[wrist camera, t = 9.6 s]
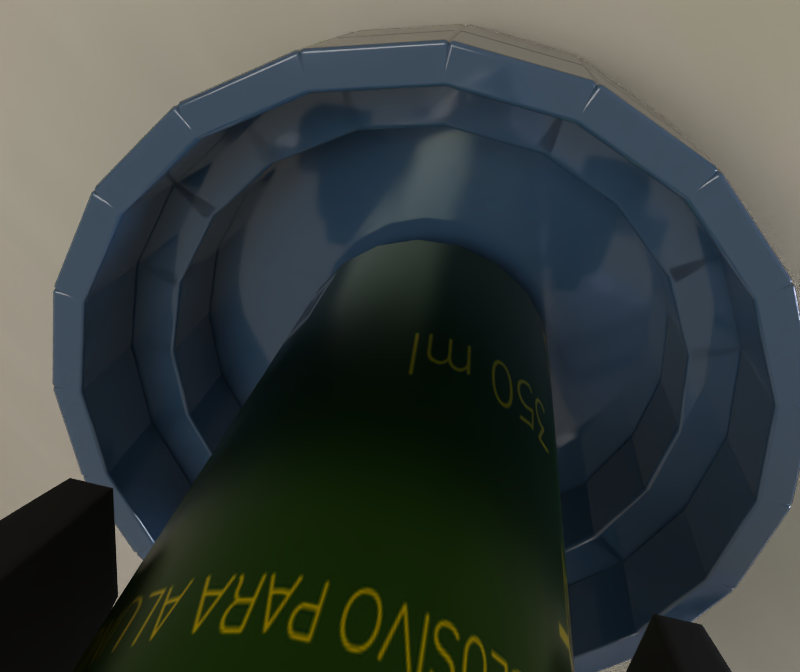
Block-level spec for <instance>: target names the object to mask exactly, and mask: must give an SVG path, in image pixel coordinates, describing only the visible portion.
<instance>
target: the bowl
mask: <svg viewBox="0 0 800 672" xmlns="http://www.w3.org/2000/svg"><path fill="white" fill-rule="evenodd" d="M412 240H424V241H430V242H437V243H444V244H450V245H457V246H461V247H463V248H465V249H467V250H469V251H471V252H473V253H475V254H477V255H480V256H482V257H484V258H486V259H488V260H490V261H492V262H494V263H496V264H498V265H499V266H500V267H501V268H502V269H503V270H504V271H505V272H506V273H507V274H508V275H509V276H511V277H512V278H513V279H514V280H515V281H516V282H517V283H518V284H519V285H520V286H521V287H522V288H523V289H524V290H525V291H526V292H527V293H528V295H529V297H530V299H531V301H532V303H533V305H534V307H535V308H536V310H537V312H538V314H539V316H540V318H541V320H542V322H543V324H544V325H545V333H546V340H547V347H548V355H549V363H550V375H551V387H552V399H553V412H554V424H555V436H556V448H557V461H558V473H559V485H560V497H561V510H562V522H563V534H564V546H565V559H566V571H567V583H568V596H569V608H570V620H571V632H572V645H573V657H574V669H575V672H598V671H601V670H603V669H606V668H609V667H611V666H614V665H616V664H619V663H622V662H624V661H627V660H629V659H632V658H633V656H634V654H635V652H636V650H637V648H638V646H639V643H640V641H641V639H642V637H643V635H644V633H645V631H646V629H647V626H648V624H649V622H650V620H651V618H652V616H653V614H658V615H662V616H666V617H671V618H675V619H679V620H683V621H688V622H692V621H694V620H695V619H696V618H698V617H699V616H700V615H702V614H703V613H704V612H706V611H707V610H708V609H710V608H711V607H712V606H714V605H715V604H716V603H718V602H719V601H720V600H722V599H723V598H724V597H726V596H727V595H728V594H730V593H731V592H732V590H733V589H735V588H736V587H737V586H738V584H739V583H740V581H741V580H742V578H743V577H744V575H745V574H746V572H747V571H748V570H749V568H750V567H751V565H752V564H753V562H754V561H755V559H756V558H757V556H758V555H759V553H760V552H761V551H762V549H763V548H764V546H765V545H766V543H767V542H768V540H769V539H770V537H771V536H772V534H773V533H774V532H775V530H776V529H777V527H778V526H779V524H780V523H781V521H782V520H783V518H784V517H785V515H786V514H787V513H788V511H789V510H790V505H791V504H792V502H793V498H794V493H795V489H796V484H797V480H798V476H799V471H800V311H799V305H798V300H797V295H796V289H795V286H794V284H793V283H792V279H791V277H790V275H789V274H788V272H787V270H786V269H785V267H784V266H783V264H782V263H781V261H780V260H779V258H778V257H777V255H776V254H775V252H774V251H773V249H772V248H771V246H770V244H769V243H768V241H767V240H766V238H765V237H764V235H763V234H762V232H761V231H760V229H759V228H758V226H757V225H756V223H755V222H754V220H753V218H752V217H751V215H750V214H749V212H748V211H747V209H746V208H745V206H744V205H743V203H742V202H741V200H740V199H739V197H738V196H737V194H736V192H735V191H734V189H733V188H732V186H731V185H730V183H729V182H728V180H727V179H726V177H725V176H724V174H723V173H722V172H721V171H720V170H719V169H718V168H717V167H716V165H715V164H713V163H712V162H711V161H710V160H709V159H708V158H707V157H706V156H705V155H704V154H703V153H702V152H701V151H700V150H699V149H698V148H696V147H695V146H694V145H693V144H692V143H691V142H690V141H689V140H688V139H687V138H685V137H684V136H683V135H682V134H681V133H680V132H679V131H678V130H677V129H676V128H675V127H674V126H673V125H672V124H671V123H670V122H669V121H667V120H666V119H665V118H664V117H663V116H661V115H660V114H659V113H657V112H656V111H654V110H653V109H652V108H650V107H649V106H648V105H646V104H645V103H643V102H642V101H641V100H639V99H638V98H636V97H635V96H634V95H632V94H631V93H630V92H628V91H627V90H625V89H624V88H623V87H621V86H620V85H618V84H617V83H616V82H614V81H613V80H611V79H610V78H609V77H607V76H606V75H605V74H603V73H602V72H600V71H599V70H598V69H596V68H595V67H593V66H592V65H591V64H589V63H588V62H587V61H585V60H584V59H582V58H577V56H576V55H575V54H572V53H569V52H565V51H562V50H558V49H555V48H551V47H548V46H544V45H540V44H537V43H533V42H530V41H526V40H523V39H519V38H516V37H512V36H509V35H505V34H502V33H498V32H495V31H491V30H488V29H484V28H481V27H477V26H474V25H467V26H465V25H463V24H454V25H439V26H424V27H409V28H394V29H379V30H364V31H357V32H351V33H348V34H345V35H342V36H338V37H335V38H332V39H329V40H327V41H323V42H320V43H317V44H314V45H310V46H307V47H304V48H301V49H298V50H295V51H292V52H290V53H288V54H286V55H283V56H281V57H279V58H277V59H275V60H272V61H270V62H268V63H266V64H263V65H261V66H259V67H257V68H254V69H252V70H250V71H248V72H245V73H243V74H241V75H239V76H236V77H234V78H232V79H230V80H227V81H225V82H223V83H221V84H218V85H216V86H214V87H212V88H210V89H207V90H205V91H203V92H201V93H198V94H196V95H194V96H192V97H189V98H187V99H185V100H183V101H180V103H179V104H178V105H176V106H173V107H172V108H171V109H170V110H169V111H168V112H167V113H166V114H165V115H164V116H163V117H162V118H161V119H160V121H159V122H158V123H157V124H156V125H155V126H154V127H153V128H152V129H151V130H150V131H149V132H148V133H147V134H146V135H145V136H144V137H143V138H142V139H141V140H140V141H139V142H138V143H137V144H136V145H135V146H134V147H133V148H132V149H131V150H130V151H129V152H128V153H127V154H126V155H125V156H124V158H123V159H122V160H121V161H120V162H119V163H118V164H117V165H116V166H115V167H114V168H113V169H112V170H111V171H110V172H109V173H108V174H107V175H106V176H105V177H104V178H103V179H102V180H101V181H100V182H99V183H98V184H97V185H96V187H95V190H94V191H93V192H92V193H91V196H90V198H89V201H88V203H87V206H86V208H85V211H84V213H83V216H82V218H81V221H80V223H79V226H78V228H77V231H76V233H75V236H74V238H73V241H72V243H71V246H70V248H69V251H68V253H67V256H66V258H65V261H64V263H63V266H62V268H61V271H60V273H59V276H58V278H57V281H56V283H55V290H54V292H53V385H54V392H55V395H56V398H57V401H58V404H59V408H60V411H61V414H62V417H63V420H64V423H65V426H66V429H67V432H68V435H69V438H70V441H71V444H72V447H73V450H74V453H75V456H76V459H77V462H78V465H79V468H80V471H81V474H82V475H84V480H85V481H86V482H89V483H93V484H97V485H102V486H106V487H110V488H113V496H114V519H115V525H116V526H117V528H118V529H119V530H120V532H121V533H122V535H123V536H124V538H125V539H126V541H127V542H128V544H129V545H130V546H131V548H132V549H133V551H134V552H137V555H138V556H139V557H140V558H141V559H142V560H144V559H145V557H146V555H147V554H148V552H149V551H150V549H151V548H152V546H153V545H154V543H155V541H156V540H157V538H158V537H159V535H160V534H161V532H162V531H163V529H164V528H165V526H166V524H167V523H168V521H169V520H170V518H171V517H172V515H173V514H174V512H175V511H176V509H177V507H178V506H179V504H180V503H181V501H182V500H183V498H184V497H185V495H186V494H187V492H188V490H189V489H190V487H191V486H192V484H193V483H194V481H195V480H196V478H197V476H198V475H199V473H200V472H201V470H202V469H203V467H204V466H205V464H206V463H207V461H208V459H209V458H210V456H211V455H212V453H213V452H214V450H215V449H216V447H217V446H218V444H219V442H220V441H221V439H222V438H223V436H224V435H225V433H226V432H227V430H228V428H229V427H230V425H231V424H232V422H233V421H234V419H235V418H236V416H237V415H238V413H239V411H240V410H241V408H242V407H243V405H244V404H245V402H246V401H247V399H248V398H249V396H250V394H251V393H252V391H253V390H254V388H255V387H256V385H257V384H258V382H259V381H260V379H261V377H262V376H263V374H264V373H265V371H266V370H267V368H268V367H269V365H270V363H271V362H272V360H273V359H274V357H275V356H276V354H277V353H278V351H279V350H280V348H281V346H282V345H283V343H284V342H285V340H286V339H287V337H288V336H289V334H290V333H291V331H292V329H293V328H294V326H295V325H296V323H297V322H298V320H299V319H300V317H301V316H302V314H303V312H304V311H305V309H306V308H307V306H308V305H309V303H310V302H311V300H312V298H313V297H314V295H315V294H316V292H317V291H318V289H319V288H320V287H321V286H322V285H323V284H324V283H325V282H326V281H327V280H328V279H329V278H330V277H331V276H332V275H333V274H334V272H335V271H336V270H337V269H338V268H339V267H340V266H341V265H342V264H343V263H345V262H347V261H349V260H351V259H353V258H355V257H357V256H359V255H361V254H363V253H364V252H366V251H368V250H370V249H372V248H374V247H376V246H380V245H386V244H393V243H399V242H406V241H412Z"/></svg>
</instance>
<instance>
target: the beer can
mask: <svg viewBox="0 0 800 672" xmlns="http://www.w3.org/2000/svg"><path fill="white" fill-rule="evenodd" d="M71 672H575V669H574V657H573V645H572V632H571V620H570V608H569V596H568V583H567V571H566V559H565V546H564V534H563V522H562V510H561V497H560V485H559V473H558V461H557V448H556V436H555V424H554V412H553V399H552V387H551V375H550V363H549V355H548V347H547V340H546V333H545V325H544V324H543V322H542V320H541V318H540V316H539V314H538V312H537V310H536V308H535V307H534V305H533V303H532V301H531V299H530V297H529V295H528V293H527V292H526V291H525V290H524V289H523V288H522V287H521V286H520V285H519V284H518V283H517V282H516V281H515V280H514V279H513V278H512V277H511V276H509V275H508V274H507V273H506V272H505V271H504V270H503V269H502V268H501V267H500V266H499V265H498V264H496V263H494V262H492V261H490V260H488V259H486V258H484V257H482V256H480V255H477V254H475V253H473V252H471V251H469V250H467V249H465V248H463V247H461V246H457V245H450V244H444V243H437V242H430V241H424V240H412V241H406V242H399V243H393V244H386V245H380V246H376V247H374V248H372V249H370V250H368V251H366V252H364V253H363V254H361V255H359V256H357V257H355V258H353V259H351V260H349V261H347V262H345V263H343V264H342V265H341V266H340V267H339V268H338V269H337V270H336V271H335V272H334V274H333V275H332V276H331V277H330V278H329V279H328V280H327V281H326V282H325V283H324V284H323V285H322V286H321V287H320V288H319V289H318V291H317V292H316V294H315V295H314V297H313V298H312V300H311V302H310V303H309V305H308V306H307V308H306V309H305V311H304V312H303V314H302V316H301V317H300V319H299V320H298V322H297V323H296V325H295V326H294V328H293V329H292V331H291V333H290V334H289V336H288V337H287V339H286V340H285V342H284V343H283V345H282V346H281V348H280V350H279V351H278V353H277V354H276V356H275V357H274V359H273V360H272V362H271V363H270V365H269V367H268V368H267V370H266V371H265V373H264V374H263V376H262V377H261V379H260V381H259V382H258V384H257V385H256V387H255V388H254V390H253V391H252V393H251V394H250V396H249V398H248V399H247V401H246V402H245V404H244V405H243V407H242V408H241V410H240V411H239V413H238V415H237V416H236V418H235V419H234V421H233V422H232V424H231V425H230V427H229V428H228V430H227V432H226V433H225V435H224V436H223V438H222V439H221V441H220V442H219V444H218V446H217V447H216V449H215V450H214V452H213V453H212V455H211V456H210V458H209V459H208V461H207V463H206V464H205V466H204V467H203V469H202V470H201V472H200V473H199V475H198V476H197V478H196V480H195V481H194V483H193V484H192V486H191V487H190V489H189V490H188V492H187V494H186V495H185V497H184V498H183V500H182V501H181V503H180V504H179V506H178V507H177V509H176V511H175V512H174V514H173V515H172V517H171V518H170V520H169V521H168V523H167V524H166V526H165V528H164V529H163V531H162V532H161V534H160V535H159V537H158V538H157V540H156V541H155V543H154V545H153V546H152V548H151V549H150V551H149V552H148V554H147V555H146V557H145V559H144V560H143V562H142V563H141V565H140V566H139V568H138V569H137V571H136V572H135V574H134V576H133V577H132V579H131V580H130V582H129V583H128V585H127V586H126V588H125V589H124V591H123V593H122V594H121V596H120V597H119V599H118V600H117V602H116V603H115V605H114V606H113V608H112V610H111V611H110V613H109V614H108V616H107V617H106V619H105V620H104V622H103V624H102V625H101V627H100V628H99V630H98V631H97V633H96V634H95V636H94V637H93V639H92V641H91V642H90V644H89V645H88V647H87V648H86V650H85V651H84V653H83V654H82V656H81V658H80V659H79V661H78V662H77V664H76V665H75V667H74V668H73V670H72V671H71Z"/></svg>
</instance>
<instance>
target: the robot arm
mask: <svg viewBox="0 0 800 672" xmlns="http://www.w3.org/2000/svg"><path fill="white" fill-rule="evenodd" d="M117 597H118V586H117V564H116V541H115V519H114V496H113V488H110V487H106V486H102V485H97V484H93V483H89V482H85V481H80V480H76V479H72V478H69V479H68V480H66V481H64V482H63V483H61V484H59V485H58V486H56V487H54V488H52V489H51V490H49V491H48V492H46V493H44V494H43V495H41V496H39V497H38V498H36V499H34V500H33V501H31V502H29V503H28V504H26V505H25V506H23V507H21V508H20V509H18V510H16V511H15V512H13V513H11V514H10V515H8V516H7V517H5V518H3V519H2V520H0V672H71V671H72V670H73V668H74V667H75V665H76V664H77V662H78V661H79V659H80V658H81V656H82V654H83V653H84V651H85V650H86V648H87V647H88V645H89V644H90V642H91V641H92V639H93V637H94V636H95V634H96V633H97V631H98V630H99V628H100V627H101V625H102V624H103V622H104V620H105V619H106V617H107V616H108V614H109V613H110V611H111V609H112V607H113V605H114V603H115V601H116V599H117ZM626 672H731V670H730V668H729V667H728V665H727V664H726V662H725V660H724V659H723V657H722V656H721V654H720V653H719V651H718V649H717V648H716V646H715V645H714V643H713V641H712V640H711V638H710V637H709V635H708V634H707V632H706V630H705V629H704V627H703V626H702V625H701V624H696V623H692V622H688V621H683V620H679V619H675V618H671V617H666V616H662V615H658V614H653V616H652V618H651V620H650V622H649V624H648V626H647V629H646V631H645V633H644V635H643V637H642V639H641V641H640V643H639V646H638V648H637V650H636V652H635V654H634V656H633V658H632V660H631V663H630V665H629V667H628V669H627V671H626Z"/></svg>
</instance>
